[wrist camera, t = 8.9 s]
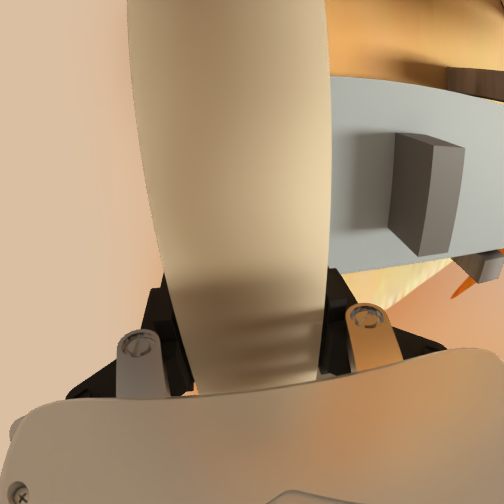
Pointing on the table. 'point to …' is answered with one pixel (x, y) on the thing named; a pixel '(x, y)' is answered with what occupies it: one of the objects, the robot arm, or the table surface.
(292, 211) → the smooth beige tapered object
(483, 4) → the table surface
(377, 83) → the lid
